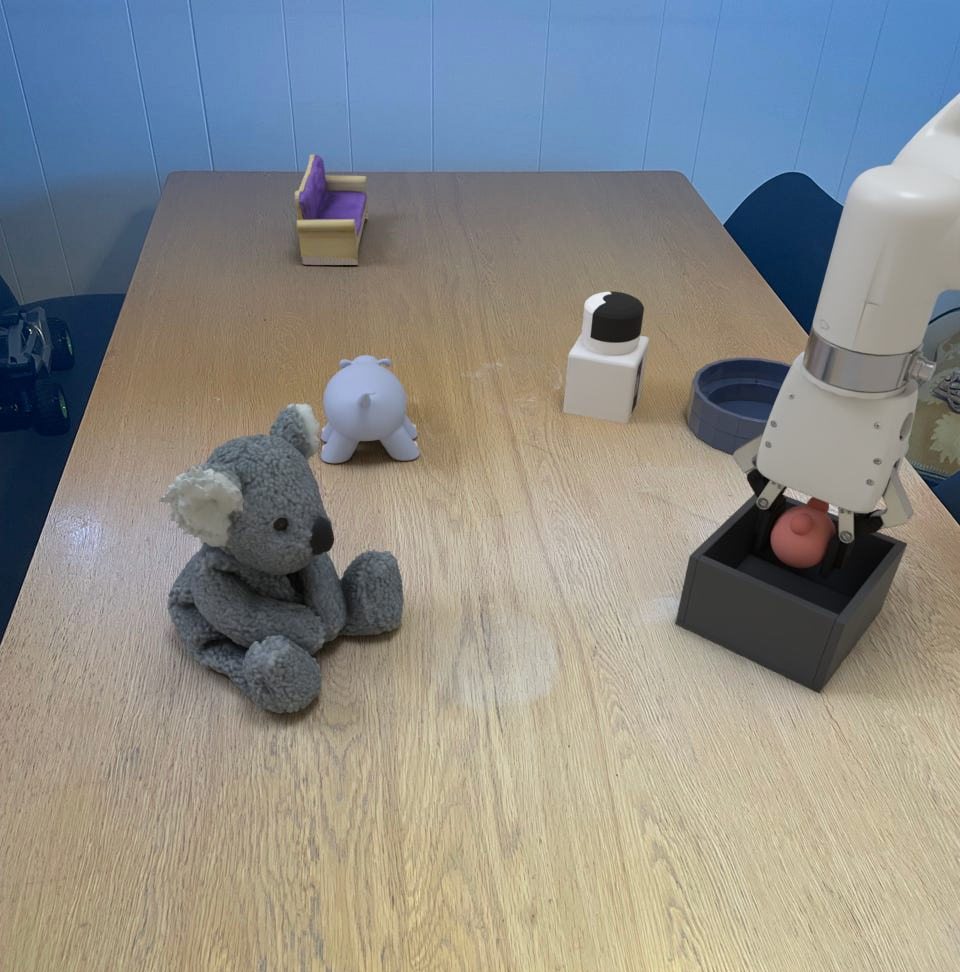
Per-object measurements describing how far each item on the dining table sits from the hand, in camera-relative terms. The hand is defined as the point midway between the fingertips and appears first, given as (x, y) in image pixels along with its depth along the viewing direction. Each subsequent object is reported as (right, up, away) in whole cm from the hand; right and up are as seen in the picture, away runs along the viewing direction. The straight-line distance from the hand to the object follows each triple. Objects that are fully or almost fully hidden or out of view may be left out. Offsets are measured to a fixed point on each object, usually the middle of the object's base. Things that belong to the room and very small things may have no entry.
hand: (797, 555), depth 82 cm
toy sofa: (-49, +55, +69) cm, 101 cm away
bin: (0, -5, +5) cm, 7 cm away
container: (-12, +20, +32) cm, 40 cm away
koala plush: (-45, -7, +2) cm, 45 cm away
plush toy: (0, 0, 0) cm, 1 cm away
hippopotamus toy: (-39, +15, +26) cm, 50 cm away
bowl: (+4, +17, +29) cm, 34 cm away
